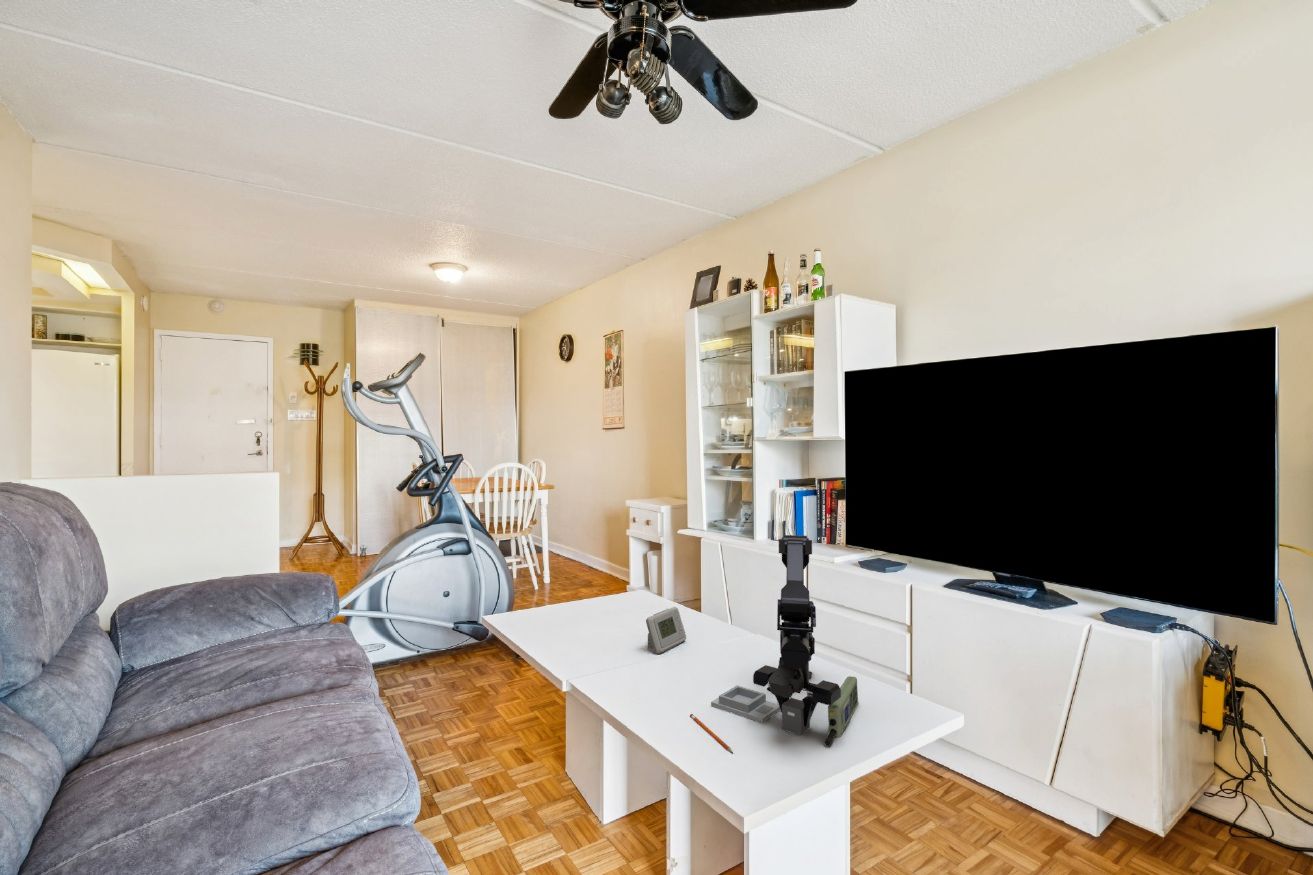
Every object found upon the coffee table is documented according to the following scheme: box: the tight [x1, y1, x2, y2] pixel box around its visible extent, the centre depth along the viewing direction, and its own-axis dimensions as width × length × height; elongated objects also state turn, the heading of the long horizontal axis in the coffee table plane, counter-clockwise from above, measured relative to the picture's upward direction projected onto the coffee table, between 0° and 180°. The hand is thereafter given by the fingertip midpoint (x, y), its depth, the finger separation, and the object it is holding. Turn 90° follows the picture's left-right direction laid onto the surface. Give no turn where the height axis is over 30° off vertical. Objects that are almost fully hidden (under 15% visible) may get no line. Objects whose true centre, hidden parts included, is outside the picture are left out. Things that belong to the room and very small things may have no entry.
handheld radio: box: [823, 675, 859, 746], centre depth 136 cm, size 7×3×25 cm
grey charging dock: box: [710, 684, 781, 724], centre depth 145 cm, size 9×14×3 cm, turn 50°
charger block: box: [781, 697, 811, 736], centre depth 134 cm, size 5×4×6 cm
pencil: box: [689, 713, 734, 754], centre depth 132 cm, size 1×19×1 cm, turn 24°
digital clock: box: [645, 606, 687, 655], centre depth 189 cm, size 16×9×11 cm, turn 134°
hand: (795, 722), depth 134 cm, fingers closed on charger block, 4 cm apart
